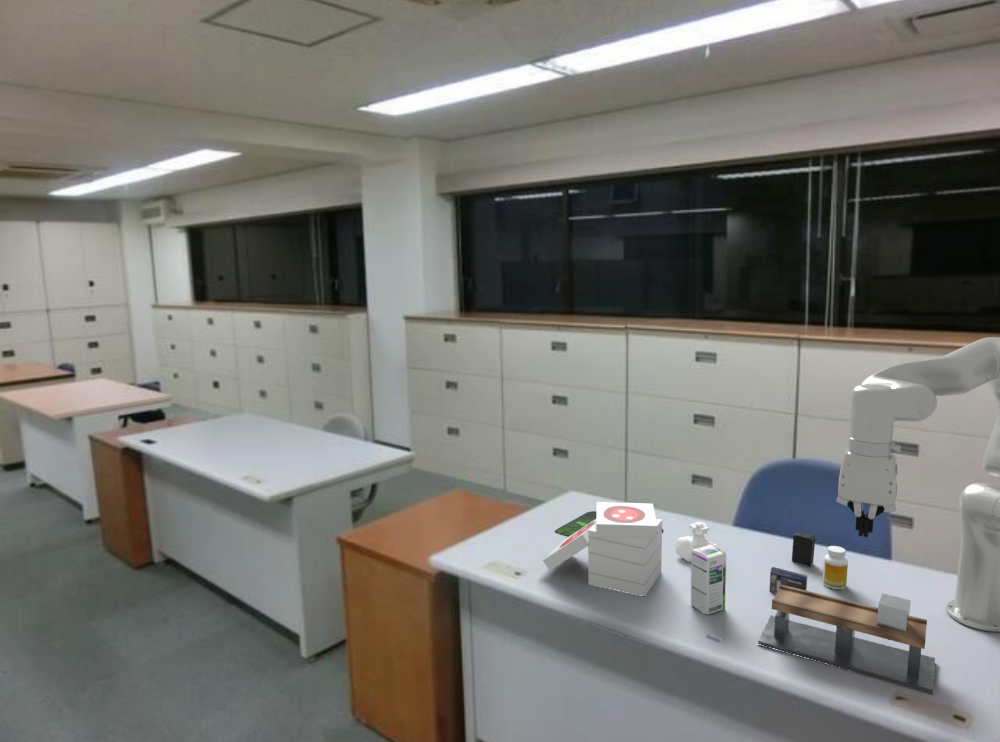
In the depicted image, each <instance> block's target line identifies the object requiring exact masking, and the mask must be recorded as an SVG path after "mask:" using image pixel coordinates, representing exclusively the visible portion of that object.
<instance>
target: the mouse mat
mask: <svg viewBox="0 0 1000 742" xmlns="http://www.w3.org/2000/svg"><path fill="white" fill-rule="evenodd" d="M596 517H597V510H596V511H595V510H594V511H591V510H590V511H587V512H585V513H584V514H582V515H580V516H578V517H577V518H574V519H573V520H571V521H569V522H567V523H566V524H563V525H562V526H560V527H558V528H556V529H555V531H554V533H556V534H558V535H560V536H563V537H564V536H565V537H567V538H568V537H569V536H571V535H572V534H574V533H575V532H577V531H578V530H580V529H581V528H583V527H584V526H586V525H588V524H589V523H591V522H592V521H594V520H595V519H596ZM663 532H664V529H663V528H662V533H663Z"/></svg>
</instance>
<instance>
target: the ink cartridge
mask: <svg viewBox="0 0 1000 742" xmlns="http://www.w3.org/2000/svg"><path fill="white" fill-rule="evenodd" d="M792 540H793V541H792V551H791V552H792V554H791V561H792V562H793V563H795V564H799V565H802V566H806V567H811V566H812V565H813V563H814V557H815V547H816V545H815V544H816V537H815V536H813V535H810V534H805V533H803V532H795V533H794V534H793V539H792Z"/></svg>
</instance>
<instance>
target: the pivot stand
mask: <svg viewBox="0 0 1000 742" xmlns="http://www.w3.org/2000/svg"><path fill="white" fill-rule="evenodd" d="M855 632H856V631H854V630H850V629H847V631H846V632H843V631H841V629H840V627H839V626H836V629H835V631H831V630H829V629H826V628H820V627H817V626H813V625H810V624H806V623H801V622H798V621H794V620H790V614H789V613H785V612H782V611H778V610H776V613H775V615H770V617H769V618H768V621H767V622H766V625H765V626H764V629H763V630H762V632H761V634H760V636H759V639H758V641H757V642H758V644H761V645H764V646H767V647H771V648H775V649H778V650H781V651H784V652H783V653H785V652H788V653H791V654H790V655H792V654H795V655H799V656H802V657H806V658H809V659H813V660H816V661H820V662H823V663H827V664H829V665H828V666H830V665H833V666H832V667H834V666H836V667H835V668H837V667H840V668H839V669H841V668H843V669H842V670H844V669H845V671H848V670H850V671H849V672H851V671H853V672H852V673H855V674H858V673H859V674H858V675H862V676H866V677H869V678H873V679H877V680H880V681H883V682H887V683H889V684H890V683H891V684H894V685H896V686H897V685H898V686H901V687H905V688H908V689H912V690H915V691H918V692H922V693H926V694H929V695H934V687H935V686H934V684H935V664H936V658H935V657H933V656H932V657H931V656H927V655H924V654H922V648H919V647H915V646H911V645H908V646H909V648H908V650H905V649H901V648H898V647H893V646H890V645H886V644H883V643H878V642H874V641H870V640H867V639H863V638H859V637H856V636H855ZM764 646H763V647H764ZM767 647H766V648H767ZM771 648H770V649H771ZM778 650H777V651H778ZM781 651H780V652H781ZM788 653H787V654H788ZM795 655H794V656H795ZM799 656H798V657H799ZM802 657H801V658H802ZM806 658H805V659H806ZM809 659H808V660H809ZM813 660H812V661H813ZM816 661H815V662H816ZM820 662H819V663H820ZM823 663H822V664H823ZM827 664H826V665H827Z"/></svg>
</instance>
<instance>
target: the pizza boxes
mask: <svg viewBox="0 0 1000 742" xmlns="http://www.w3.org/2000/svg"><path fill="white" fill-rule="evenodd" d="M596 512H597V517H596V519H595V520H594V521H592V522H591V523H589V524H588V525H586V526H584V527H583V528H581V529H580V530H578V531H577V532H575V533H574V534H572V535H571V536H569V537H567V538H565V539H563V541H562V542H560V543H559V544H558V545H557V546H556V547H555V548H554V549H553V550H552V551H551V552H550V553H549V554H548V555H546V556H545V557H544V559H542V561H543V563H544V565H545V566H546V567H547V569H548V571H551V570H552V569H554V568H556V567H557V566H559V565H561V564H562V563H564V562H565V561H567V560H569V559H570V558H572V557H573V556H574V555H576V554H578V553H580V552H581V551H582V550H584V549H586V548H588V551H587V553H588V560H587V561H588V562H587V563H588V565H587V566H588V568H587V569H588V571H587V573H588V574H587V575H588V581H587V582H588V585H589V584H590V585H589V586H593V585H596V586H595V587H598V586H600V587H599V588H602V587H606V588H611V589H616V590H620V591H624V592H629V593H633V594H637V595H642V596H645V595H646V596H647V595H648V593H649V591H650V590H651V588H652V587H653V585H654V584H655V582H656V581H657V579H658V578H659V577H660V575H661V573H662V556H663V555H662V554H663V553H662V550H663V548H662V547H663V546H662V545H663V532H662V529H663V519H662V518H656V513H655V512H656V511H655V507H654V503H649V502H648V503H643V502H642V503H641V502H639V503H638V502H612V501H611V502H606V501H603V502H602V501H601V502H600V501H596ZM606 588H605V589H606ZM611 589H610V590H611ZM620 591H619V592H620ZM624 592H623V593H624ZM647 592H648V593H647ZM633 594H632V595H633ZM637 595H636V596H637ZM646 596H645V597H646Z"/></svg>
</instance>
